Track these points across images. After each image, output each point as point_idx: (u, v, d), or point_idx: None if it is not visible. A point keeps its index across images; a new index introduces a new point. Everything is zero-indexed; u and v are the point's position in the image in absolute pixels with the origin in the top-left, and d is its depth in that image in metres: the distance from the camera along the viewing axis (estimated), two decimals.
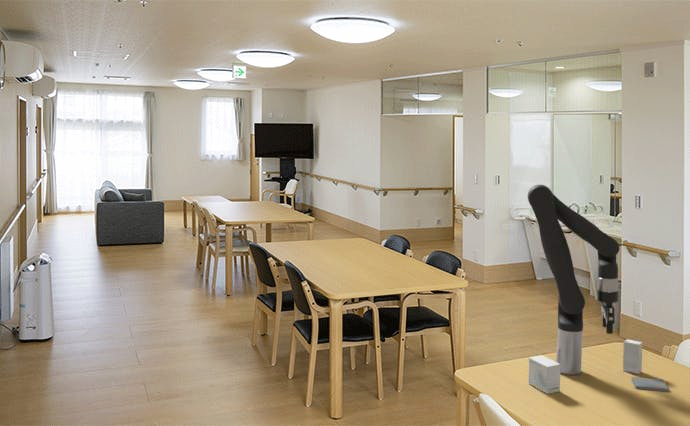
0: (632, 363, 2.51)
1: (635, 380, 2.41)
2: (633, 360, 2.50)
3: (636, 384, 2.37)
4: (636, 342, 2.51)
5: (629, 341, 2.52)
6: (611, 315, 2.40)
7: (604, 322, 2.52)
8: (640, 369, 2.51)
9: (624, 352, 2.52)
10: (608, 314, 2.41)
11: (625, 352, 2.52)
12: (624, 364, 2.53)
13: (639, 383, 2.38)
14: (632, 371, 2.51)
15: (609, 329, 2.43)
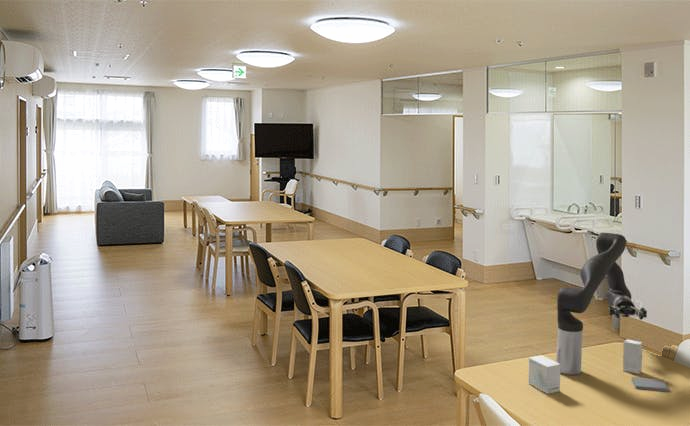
0: (632, 363, 2.51)
1: (635, 380, 2.41)
2: (633, 360, 2.50)
3: (636, 384, 2.37)
4: (636, 342, 2.51)
5: (629, 341, 2.52)
6: None
7: (618, 313, 2.64)
8: (640, 369, 2.51)
9: (624, 352, 2.52)
10: None
11: (625, 352, 2.52)
12: (624, 364, 2.53)
13: (639, 383, 2.38)
14: (632, 371, 2.51)
15: None
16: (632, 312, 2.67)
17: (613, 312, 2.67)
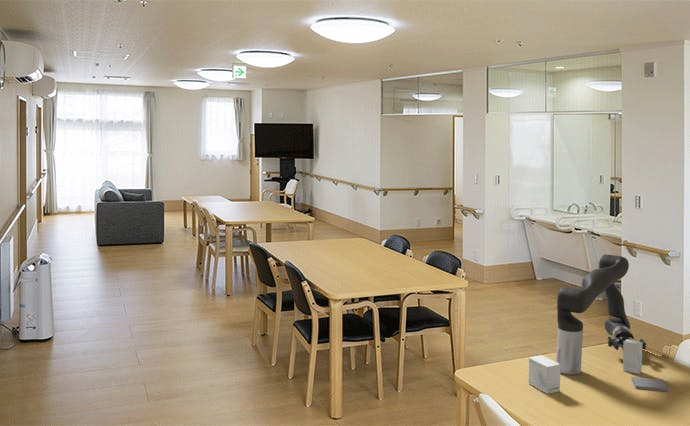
0: (632, 363, 2.51)
1: (635, 380, 2.41)
2: (633, 360, 2.50)
3: (636, 384, 2.37)
4: (636, 342, 2.51)
5: (629, 341, 2.52)
6: None
7: (618, 345, 2.63)
8: (640, 369, 2.51)
9: (624, 352, 2.52)
10: None
11: (625, 352, 2.52)
12: (624, 364, 2.53)
13: (639, 383, 2.38)
14: (632, 371, 2.51)
15: (642, 347, 2.60)
16: None
17: (612, 344, 2.65)
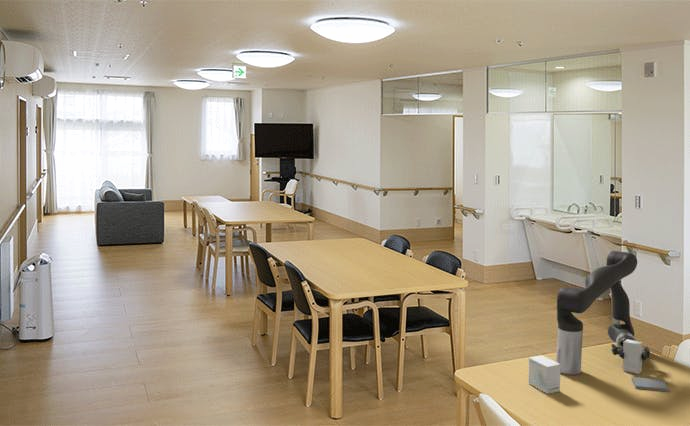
0: (632, 363, 2.51)
1: (635, 380, 2.41)
2: (633, 360, 2.50)
3: (636, 384, 2.37)
4: (636, 342, 2.51)
5: (629, 341, 2.52)
6: None
7: None
8: (640, 369, 2.51)
9: (624, 352, 2.52)
10: (648, 349, 2.56)
11: (625, 352, 2.52)
12: (624, 364, 2.53)
13: (639, 383, 2.38)
14: (632, 371, 2.51)
15: None
16: None
17: (617, 352, 2.55)
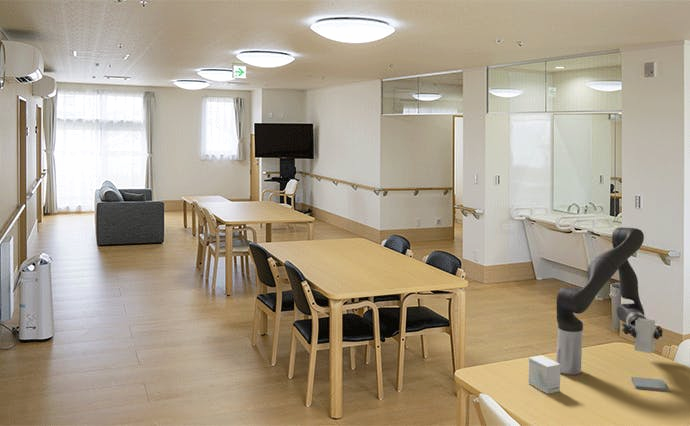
0: (644, 342, 2.41)
1: (635, 380, 2.41)
2: (645, 339, 2.41)
3: (636, 384, 2.37)
4: (648, 320, 2.41)
5: (641, 319, 2.42)
6: None
7: None
8: (653, 348, 2.42)
9: (636, 331, 2.43)
10: None
11: (637, 331, 2.42)
12: (636, 343, 2.43)
13: (639, 383, 2.38)
14: (644, 351, 2.41)
15: None
16: None
17: (629, 331, 2.46)
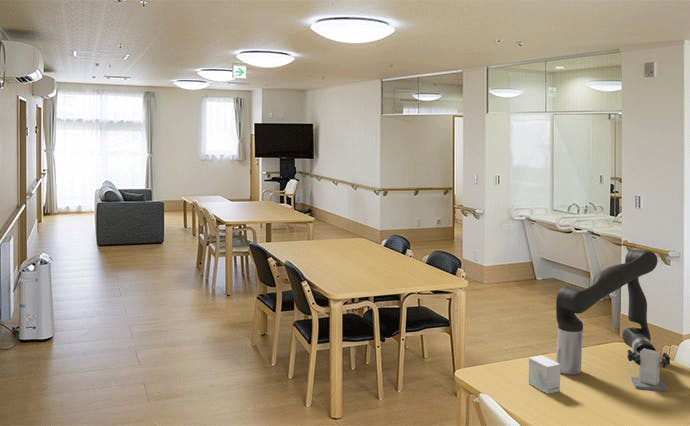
0: (649, 373, 2.37)
1: (635, 380, 2.41)
2: (650, 371, 2.36)
3: (636, 384, 2.37)
4: (653, 352, 2.37)
5: (646, 350, 2.38)
6: None
7: None
8: (658, 380, 2.37)
9: (641, 362, 2.38)
10: None
11: (642, 362, 2.38)
12: (641, 375, 2.39)
13: (639, 383, 2.38)
14: (649, 383, 2.37)
15: None
16: None
17: (633, 358, 2.41)
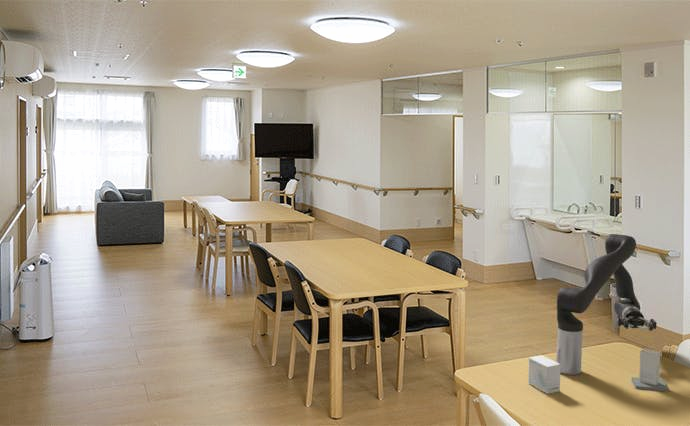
0: (649, 373, 2.37)
1: (635, 380, 2.41)
2: (650, 371, 2.36)
3: (636, 384, 2.37)
4: (653, 352, 2.37)
5: (646, 350, 2.38)
6: None
7: (627, 324, 2.57)
8: (658, 380, 2.37)
9: (641, 362, 2.38)
10: None
11: (642, 362, 2.38)
12: (641, 375, 2.39)
13: (639, 383, 2.38)
14: (649, 383, 2.37)
15: (652, 327, 2.54)
16: (641, 323, 2.59)
17: (622, 323, 2.59)
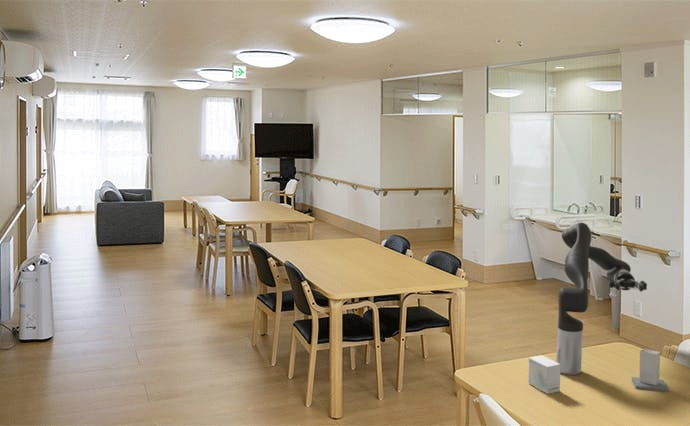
0: (649, 373, 2.37)
1: (635, 380, 2.41)
2: (650, 371, 2.36)
3: (636, 384, 2.37)
4: (653, 352, 2.37)
5: (646, 350, 2.38)
6: None
7: None
8: (658, 380, 2.37)
9: (641, 362, 2.38)
10: None
11: (642, 362, 2.38)
12: (641, 375, 2.39)
13: (639, 383, 2.38)
14: (649, 383, 2.37)
15: None
16: (632, 285, 2.68)
17: (613, 285, 2.68)
